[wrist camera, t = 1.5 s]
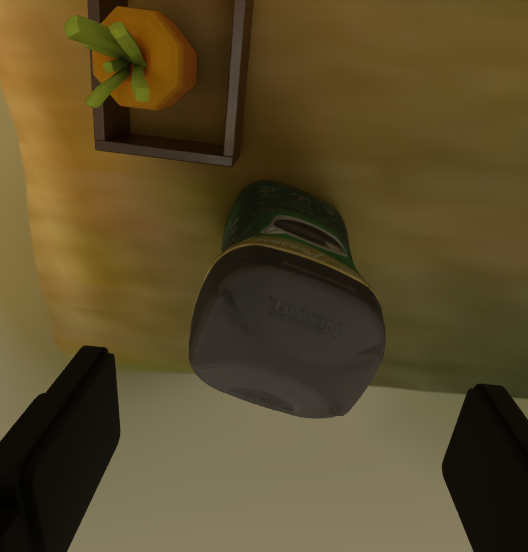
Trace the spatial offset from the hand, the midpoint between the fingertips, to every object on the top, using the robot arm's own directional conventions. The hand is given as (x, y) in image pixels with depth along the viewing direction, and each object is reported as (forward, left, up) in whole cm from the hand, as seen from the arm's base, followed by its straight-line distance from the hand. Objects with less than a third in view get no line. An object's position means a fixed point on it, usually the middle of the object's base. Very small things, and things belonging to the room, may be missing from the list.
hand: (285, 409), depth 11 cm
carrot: (-8, -9, -25) cm, 28 cm away
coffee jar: (+3, 0, -25) cm, 26 cm away
